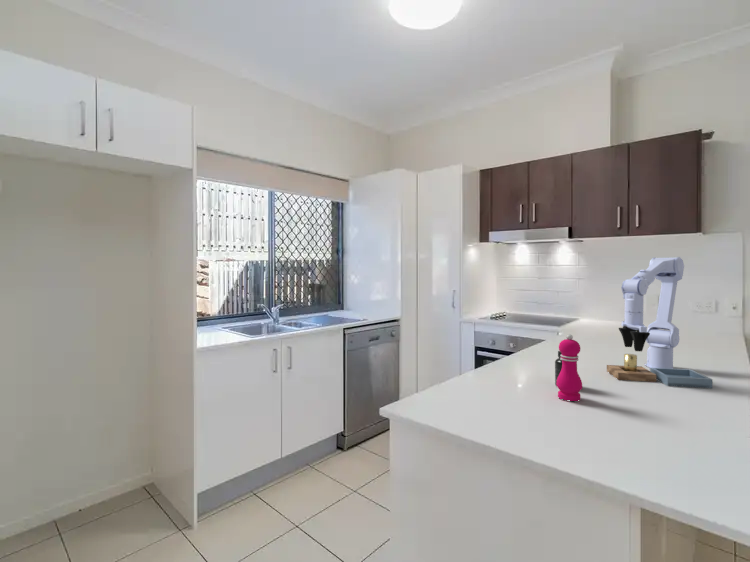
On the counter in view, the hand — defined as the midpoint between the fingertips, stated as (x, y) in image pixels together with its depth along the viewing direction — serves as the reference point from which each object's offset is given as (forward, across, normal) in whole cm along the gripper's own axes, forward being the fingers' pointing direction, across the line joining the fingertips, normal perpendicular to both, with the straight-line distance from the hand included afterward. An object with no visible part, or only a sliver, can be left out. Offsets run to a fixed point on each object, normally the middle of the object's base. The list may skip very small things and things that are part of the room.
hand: (633, 349), depth 144 cm
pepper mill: (+11, +28, -30) cm, 43 cm away
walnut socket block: (+10, -1, 0) cm, 10 cm away
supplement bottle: (+11, +15, -28) cm, 33 cm away
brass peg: (+10, -1, 0) cm, 10 cm away
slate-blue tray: (+10, +4, +13) cm, 17 cm away
